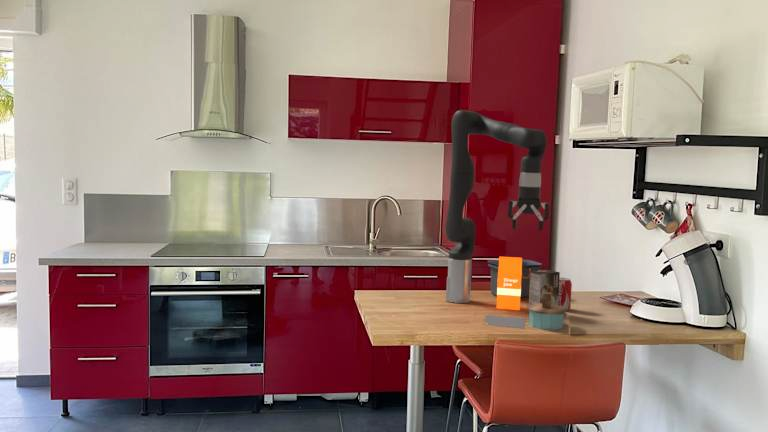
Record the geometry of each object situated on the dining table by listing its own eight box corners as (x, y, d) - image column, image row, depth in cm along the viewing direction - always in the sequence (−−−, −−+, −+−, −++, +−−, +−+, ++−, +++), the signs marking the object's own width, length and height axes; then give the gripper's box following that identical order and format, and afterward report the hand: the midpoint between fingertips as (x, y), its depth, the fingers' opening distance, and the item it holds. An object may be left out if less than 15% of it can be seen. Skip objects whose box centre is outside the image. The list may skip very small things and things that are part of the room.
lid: (526, 312, 214) (527, 295, 214) (527, 304, 227) (528, 287, 226) (566, 315, 211) (567, 298, 210) (565, 307, 223) (566, 290, 223)
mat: (482, 326, 218) (482, 324, 218) (485, 316, 231) (486, 315, 231) (524, 330, 214) (524, 328, 214) (525, 320, 228) (525, 318, 228)
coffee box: (546, 310, 243) (548, 269, 241) (558, 314, 237) (560, 272, 236) (527, 313, 239) (529, 270, 237) (539, 317, 233) (541, 273, 232)
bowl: (528, 329, 215) (529, 312, 215) (529, 321, 226) (530, 304, 226) (562, 332, 213) (563, 314, 212) (562, 324, 223) (563, 307, 223)
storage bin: (525, 290, 279) (526, 258, 278) (546, 298, 265) (548, 264, 264) (482, 293, 271) (484, 260, 270) (502, 301, 257) (504, 266, 256)
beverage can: (571, 312, 242) (572, 280, 241) (554, 310, 243) (555, 279, 242) (569, 308, 248) (571, 277, 247) (553, 307, 250) (554, 276, 248)
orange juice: (519, 311, 240) (522, 259, 238) (496, 310, 242) (498, 257, 240) (520, 307, 248) (522, 256, 246) (497, 305, 250) (499, 254, 248)
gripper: (508, 184, 225) (506, 230, 227) (550, 186, 222) (547, 233, 224) (510, 184, 233) (507, 228, 234) (550, 185, 229) (547, 230, 231)
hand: (527, 230), depth 229 cm, fingers open, 8 cm apart
